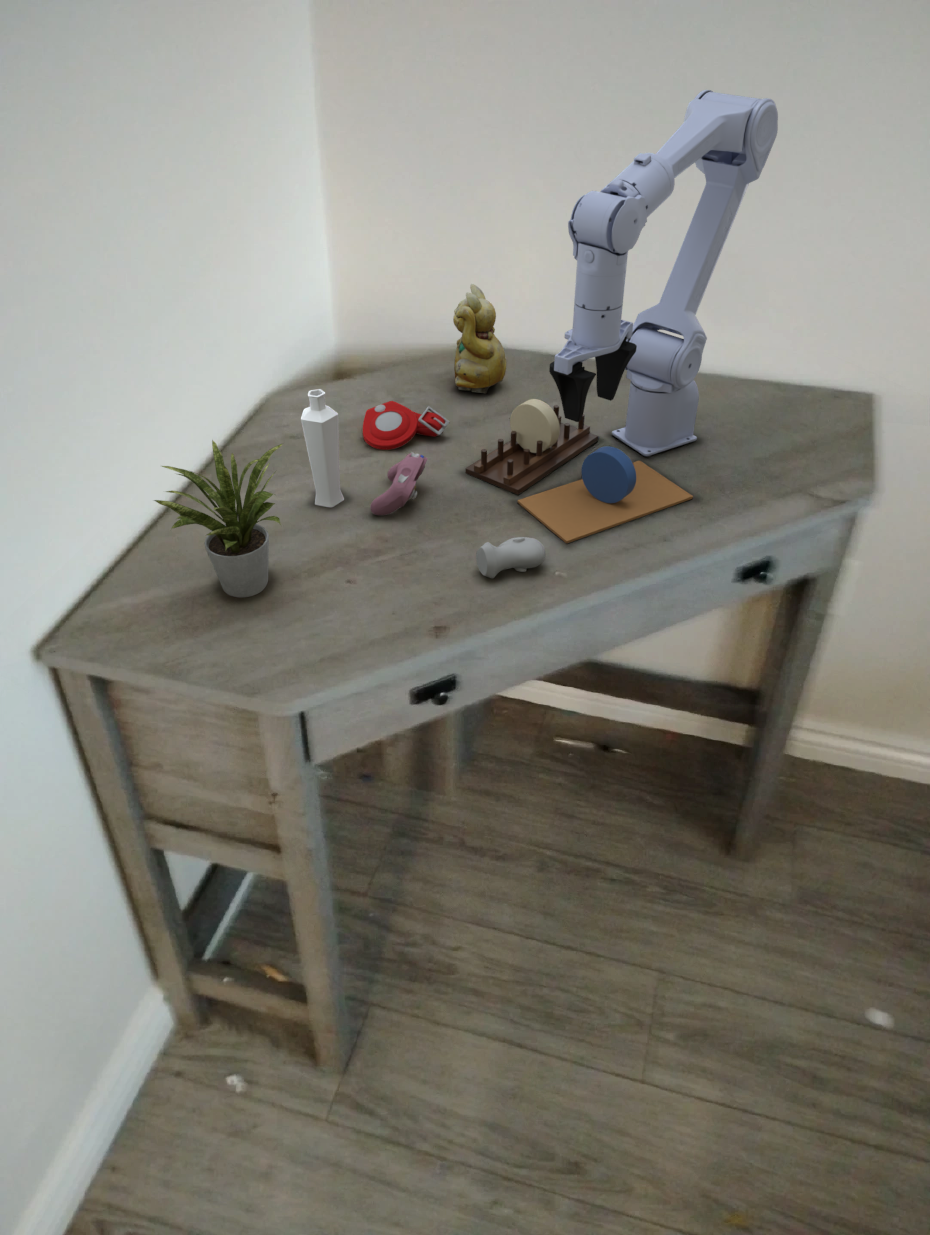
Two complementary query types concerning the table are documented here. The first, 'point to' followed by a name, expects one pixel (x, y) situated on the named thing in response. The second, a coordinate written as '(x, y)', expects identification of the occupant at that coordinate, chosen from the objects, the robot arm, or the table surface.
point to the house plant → (232, 524)
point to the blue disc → (608, 474)
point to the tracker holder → (399, 425)
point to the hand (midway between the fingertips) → (589, 408)
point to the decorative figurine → (477, 344)
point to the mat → (601, 505)
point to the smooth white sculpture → (510, 555)
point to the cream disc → (535, 425)
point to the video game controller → (400, 484)
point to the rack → (530, 458)
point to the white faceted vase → (323, 448)
